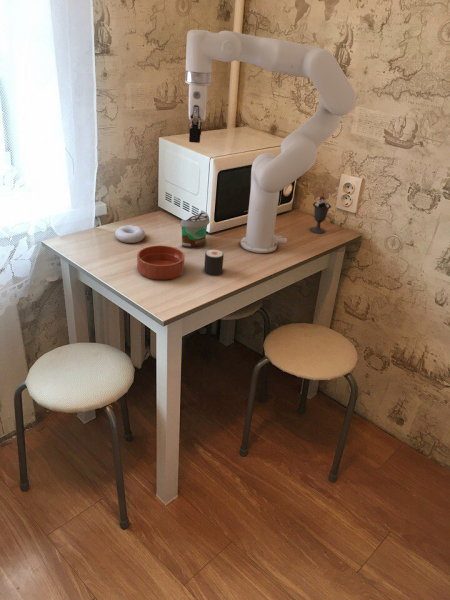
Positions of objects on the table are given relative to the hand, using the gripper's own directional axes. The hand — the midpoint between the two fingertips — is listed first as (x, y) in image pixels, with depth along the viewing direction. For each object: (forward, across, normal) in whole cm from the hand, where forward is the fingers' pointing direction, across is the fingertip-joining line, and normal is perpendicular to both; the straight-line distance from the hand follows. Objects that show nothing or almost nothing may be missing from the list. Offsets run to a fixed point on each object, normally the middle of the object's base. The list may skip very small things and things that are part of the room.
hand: (195, 138), depth 157 cm
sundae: (+35, +20, -47) cm, 62 cm away
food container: (+35, 0, -3) cm, 36 cm away
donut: (+36, +1, +20) cm, 41 cm away
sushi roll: (+35, -19, -8) cm, 41 cm away
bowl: (+35, -21, +8) cm, 42 cm away
